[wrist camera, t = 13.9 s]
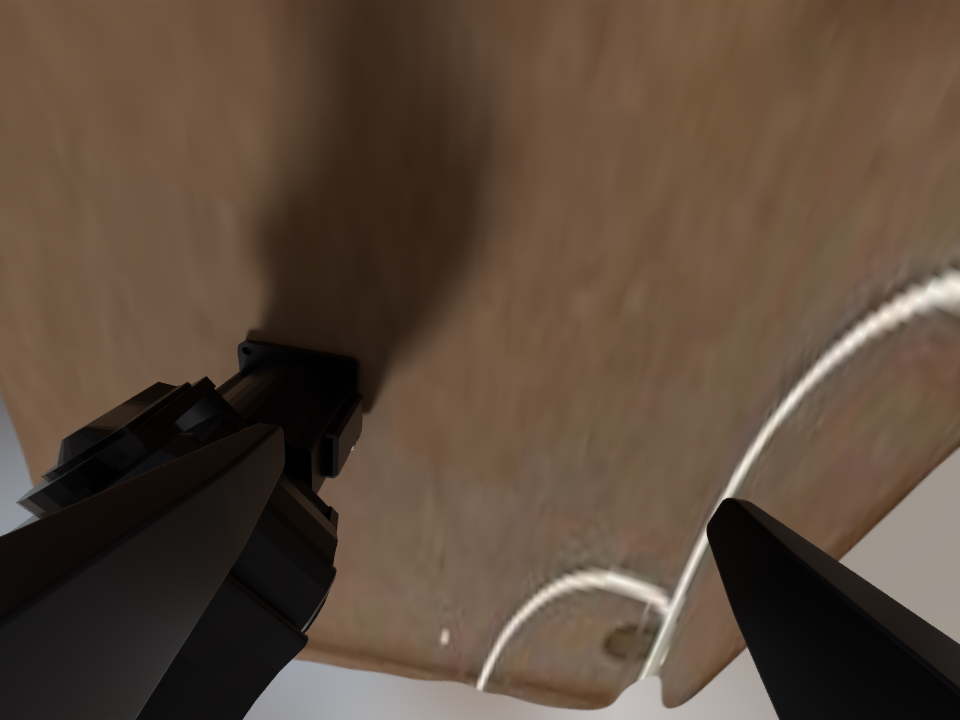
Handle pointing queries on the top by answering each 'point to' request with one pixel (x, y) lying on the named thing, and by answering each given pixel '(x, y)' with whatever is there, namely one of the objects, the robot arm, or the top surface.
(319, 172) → the top surface
